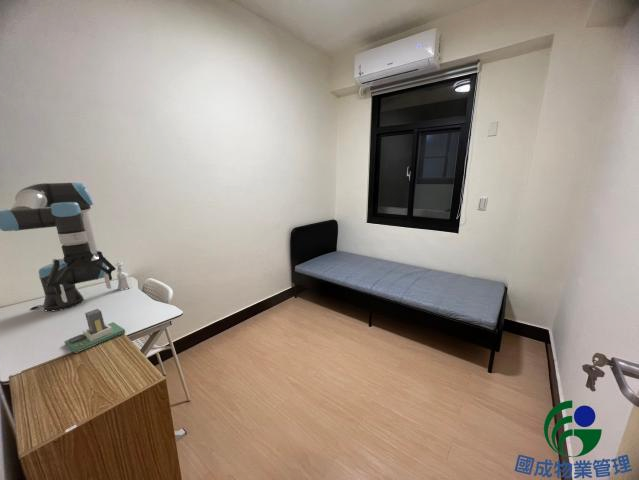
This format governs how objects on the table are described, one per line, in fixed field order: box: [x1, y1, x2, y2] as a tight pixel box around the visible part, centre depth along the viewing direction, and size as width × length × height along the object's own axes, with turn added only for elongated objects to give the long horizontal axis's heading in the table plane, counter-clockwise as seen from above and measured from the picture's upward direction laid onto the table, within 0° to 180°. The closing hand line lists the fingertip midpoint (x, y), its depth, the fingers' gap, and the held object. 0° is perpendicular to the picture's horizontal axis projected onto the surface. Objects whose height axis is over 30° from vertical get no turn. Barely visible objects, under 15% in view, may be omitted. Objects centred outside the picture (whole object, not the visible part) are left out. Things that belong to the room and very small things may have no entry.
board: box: [64, 322, 126, 353], centre depth 102 cm, size 12×16×4 cm
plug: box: [84, 308, 105, 335], centre depth 102 cm, size 5×4×10 cm
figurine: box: [113, 260, 134, 290], centre depth 153 cm, size 7×8×18 cm
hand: (88, 294), depth 99 cm, fingers open, 13 cm apart
